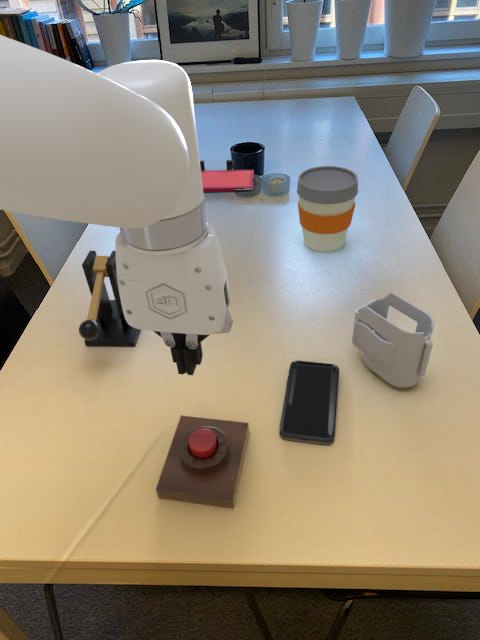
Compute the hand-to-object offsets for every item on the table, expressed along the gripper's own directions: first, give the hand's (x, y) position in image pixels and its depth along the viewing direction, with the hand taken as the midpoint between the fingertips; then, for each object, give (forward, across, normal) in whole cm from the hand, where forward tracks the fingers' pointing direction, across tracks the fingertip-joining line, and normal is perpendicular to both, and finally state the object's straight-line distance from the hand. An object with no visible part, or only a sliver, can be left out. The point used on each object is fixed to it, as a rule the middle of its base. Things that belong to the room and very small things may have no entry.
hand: (189, 365), depth 55 cm
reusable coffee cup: (+19, +13, +60) cm, 64 cm away
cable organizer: (+19, +24, +22) cm, 38 cm away
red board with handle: (+19, -23, +90) cm, 94 cm away
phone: (+19, +13, +13) cm, 27 cm away
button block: (+19, 0, 0) cm, 19 cm away
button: (+15, 0, 0) cm, 15 cm away
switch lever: (+10, -23, +22) cm, 33 cm away
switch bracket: (+19, -23, +27) cm, 40 cm away
